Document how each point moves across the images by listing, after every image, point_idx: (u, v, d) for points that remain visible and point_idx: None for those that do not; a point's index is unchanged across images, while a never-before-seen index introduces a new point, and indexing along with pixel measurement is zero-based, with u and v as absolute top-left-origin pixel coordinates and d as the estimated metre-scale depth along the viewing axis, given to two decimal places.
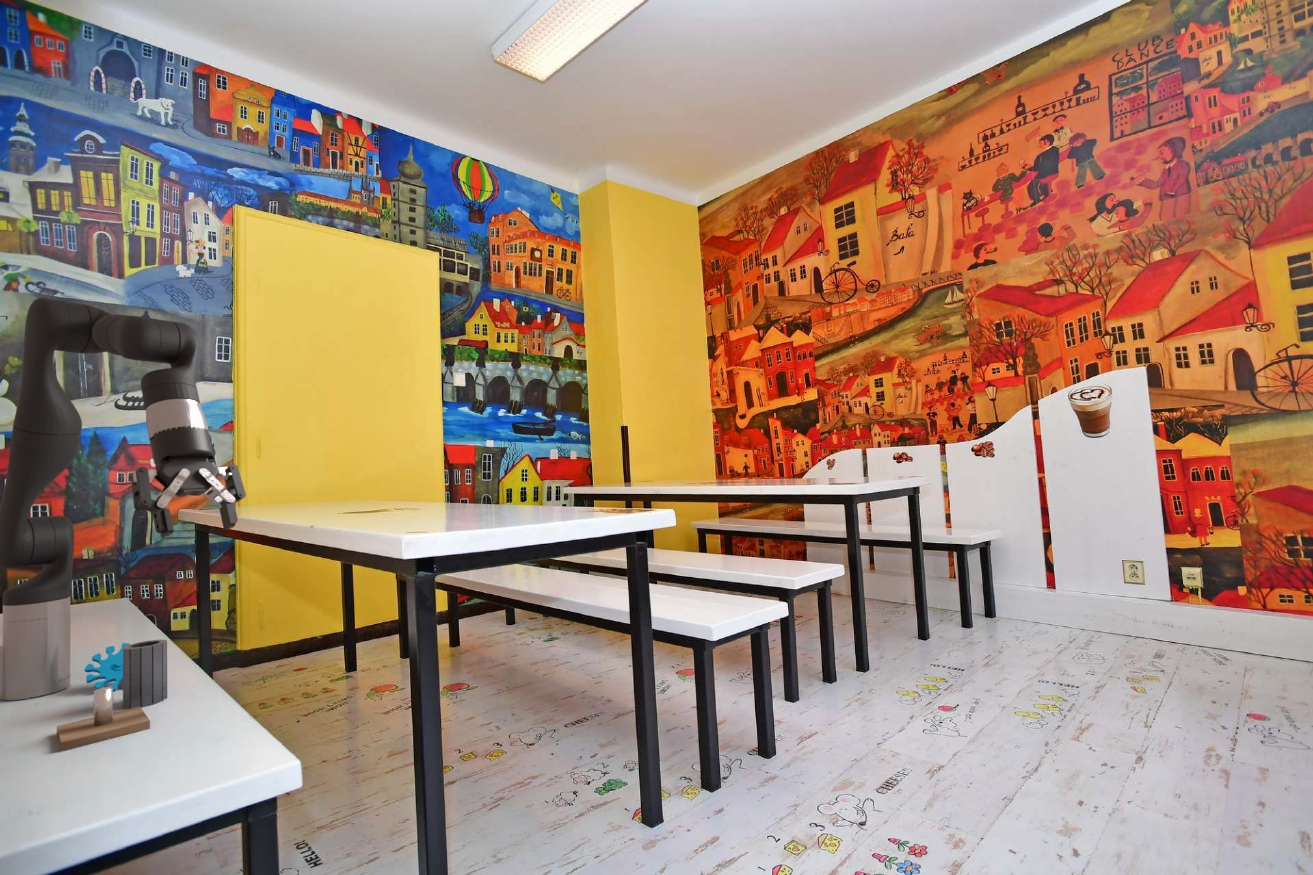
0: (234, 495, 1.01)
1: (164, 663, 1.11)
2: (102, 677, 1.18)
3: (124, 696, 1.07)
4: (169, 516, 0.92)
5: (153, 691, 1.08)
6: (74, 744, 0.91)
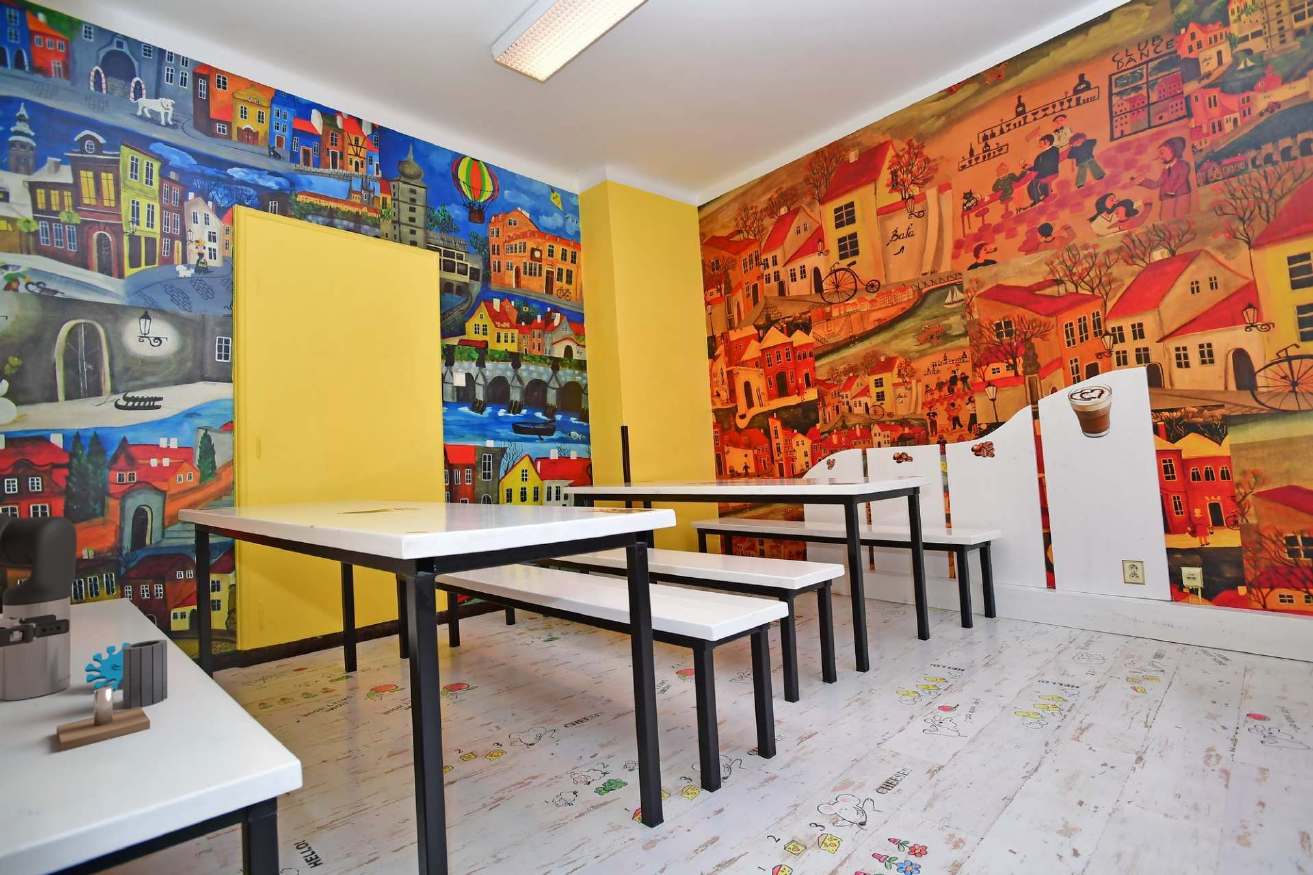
0: None
1: (164, 663, 1.11)
2: (102, 677, 1.18)
3: (124, 696, 1.07)
4: None
5: (153, 691, 1.08)
6: (74, 744, 0.91)
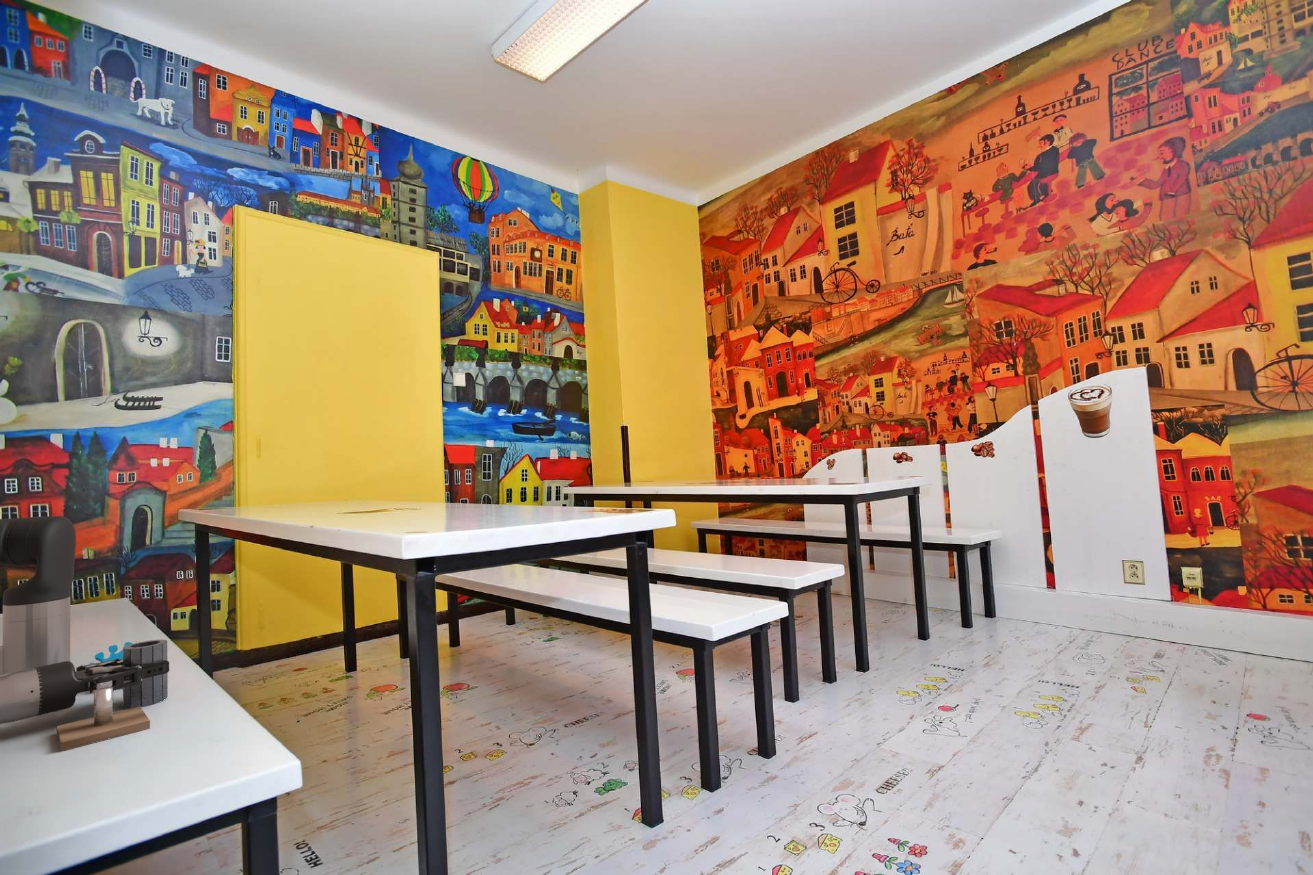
0: None
1: None
2: None
3: (124, 696, 1.07)
4: None
5: (153, 691, 1.09)
6: (74, 744, 0.91)
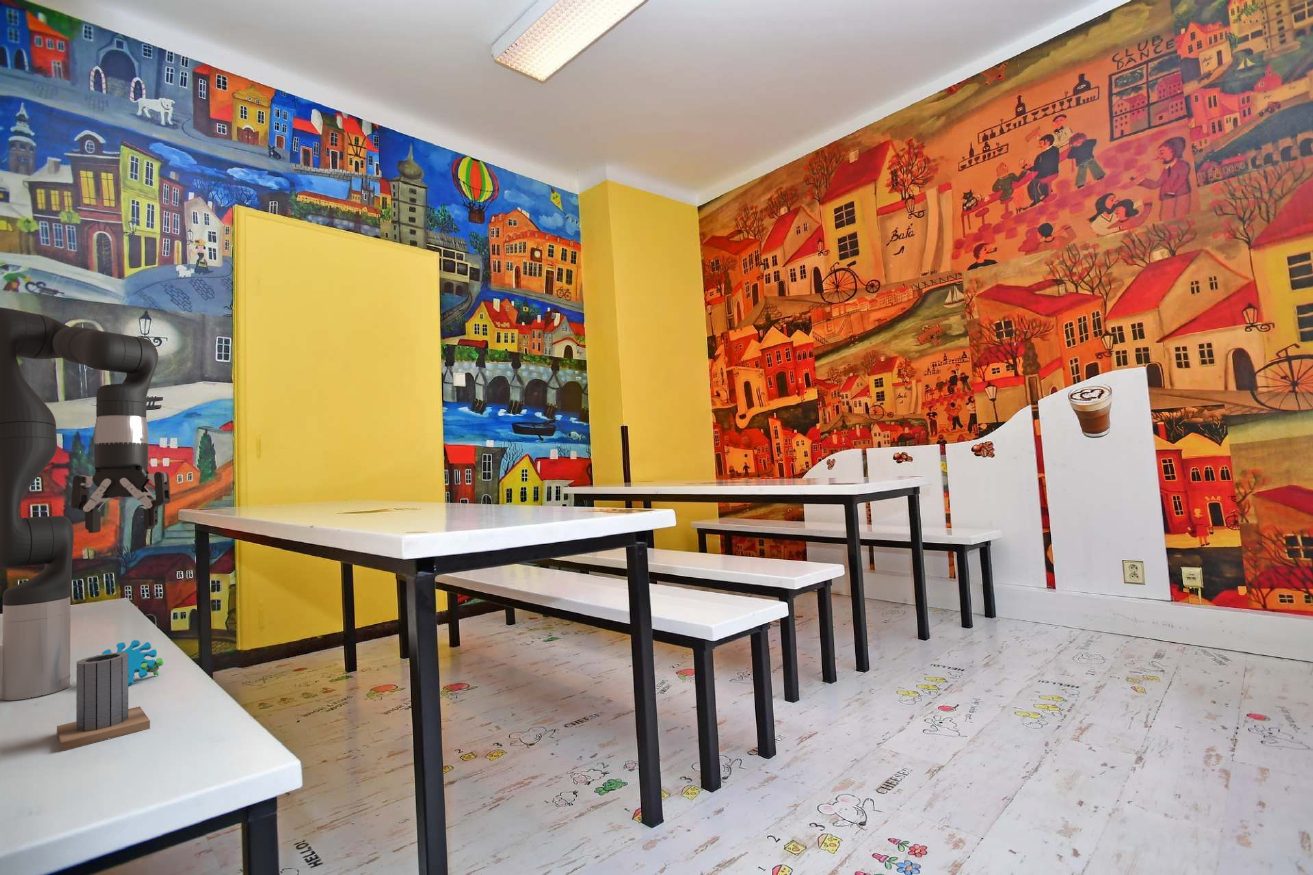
0: (155, 500, 1.14)
1: (124, 679, 0.98)
2: None
3: (77, 717, 0.94)
4: (91, 519, 1.12)
5: (111, 712, 0.96)
6: (74, 744, 0.91)
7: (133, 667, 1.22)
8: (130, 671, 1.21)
